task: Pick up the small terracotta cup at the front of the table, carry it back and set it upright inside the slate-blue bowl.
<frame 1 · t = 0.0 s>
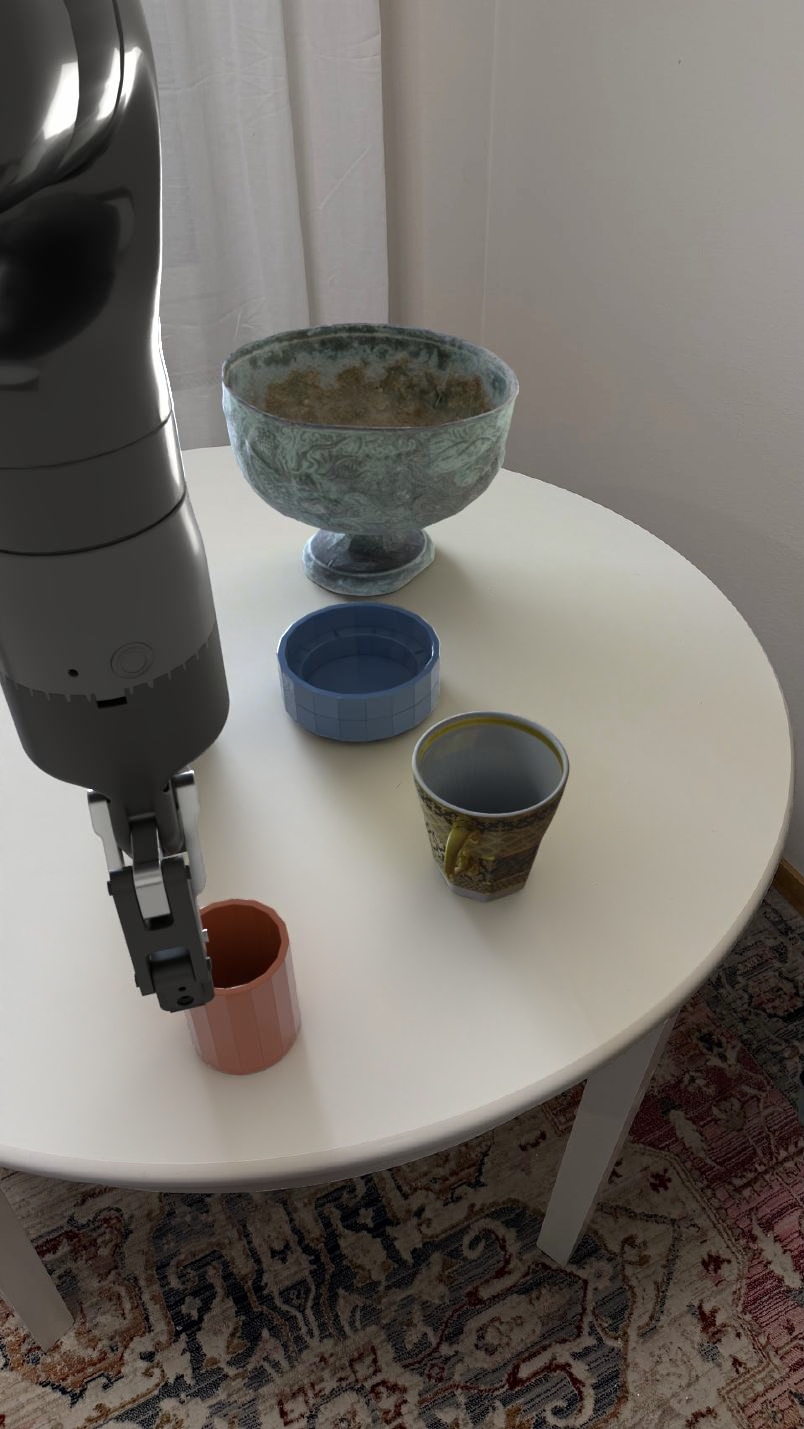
hand: (178, 920, 44), 18 cm above the table, tool pointing down, fingers open, 8 cm apart
decorative bowl: (371, 560, 102), on the table
cup: (246, 1025, 61), on the table
beverage can: (170, 730, 82), on the table
ceramic cup: (477, 882, 69), on the table
bowl: (361, 694, 85), on the table
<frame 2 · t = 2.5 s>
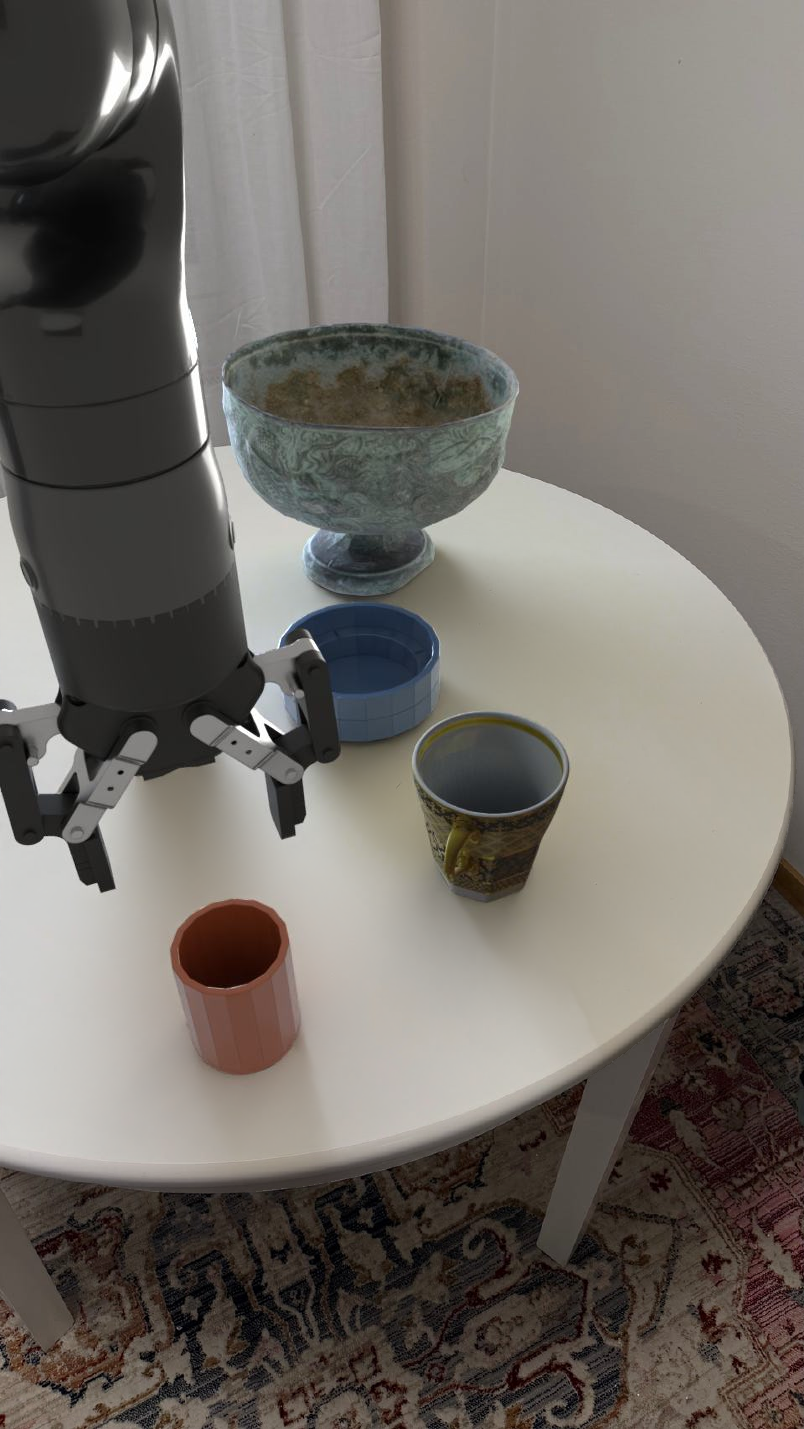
hand: (196, 851, 48), 18 cm above the table, tool pointing down, fingers open, 8 cm apart
nothing on the table moved.
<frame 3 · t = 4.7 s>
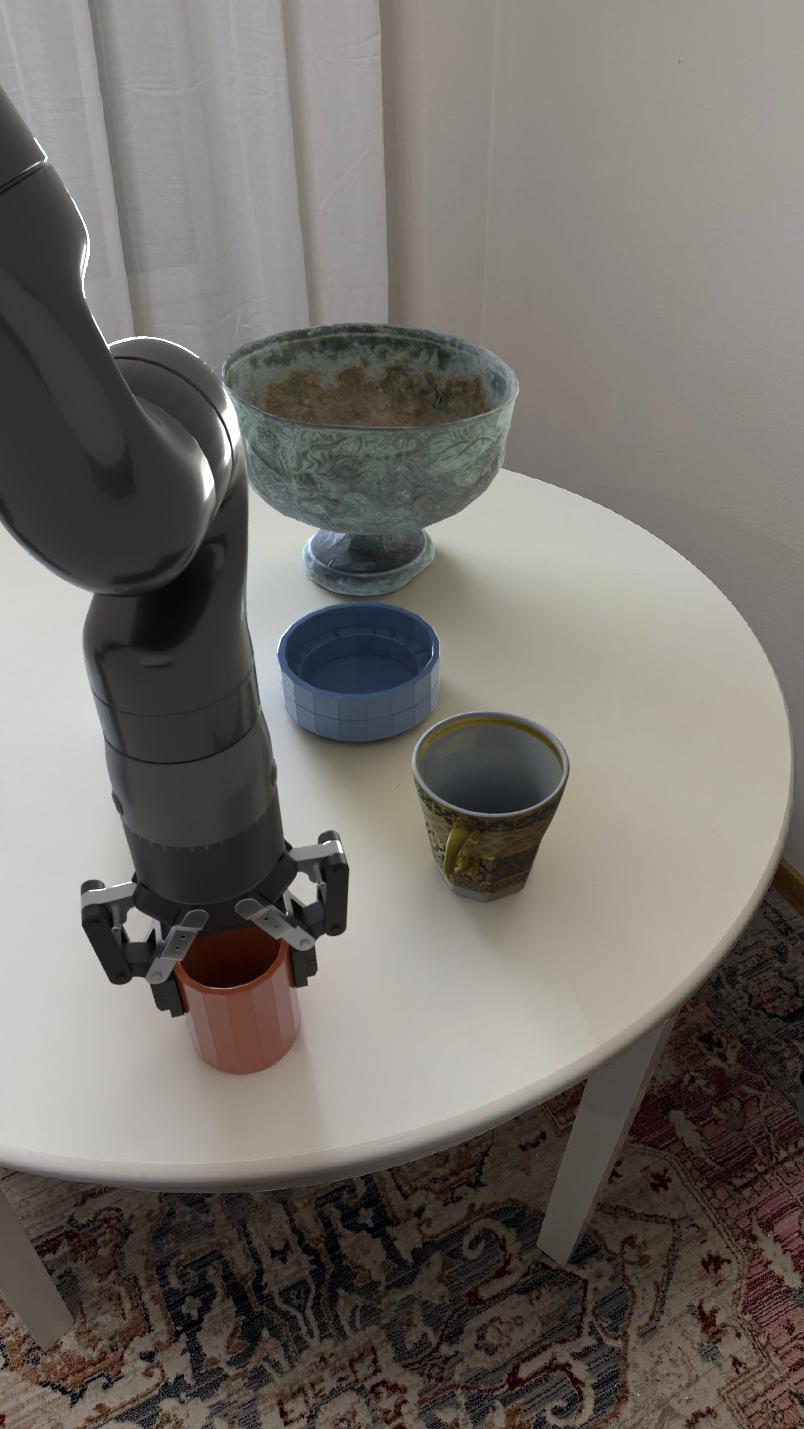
hand: (238, 988, 58), 4 cm above the table, tool pointing down, fingers closed on cup, 6 cm apart
cup: (246, 1025, 61), on the table, touching gripper
everything else where it was.
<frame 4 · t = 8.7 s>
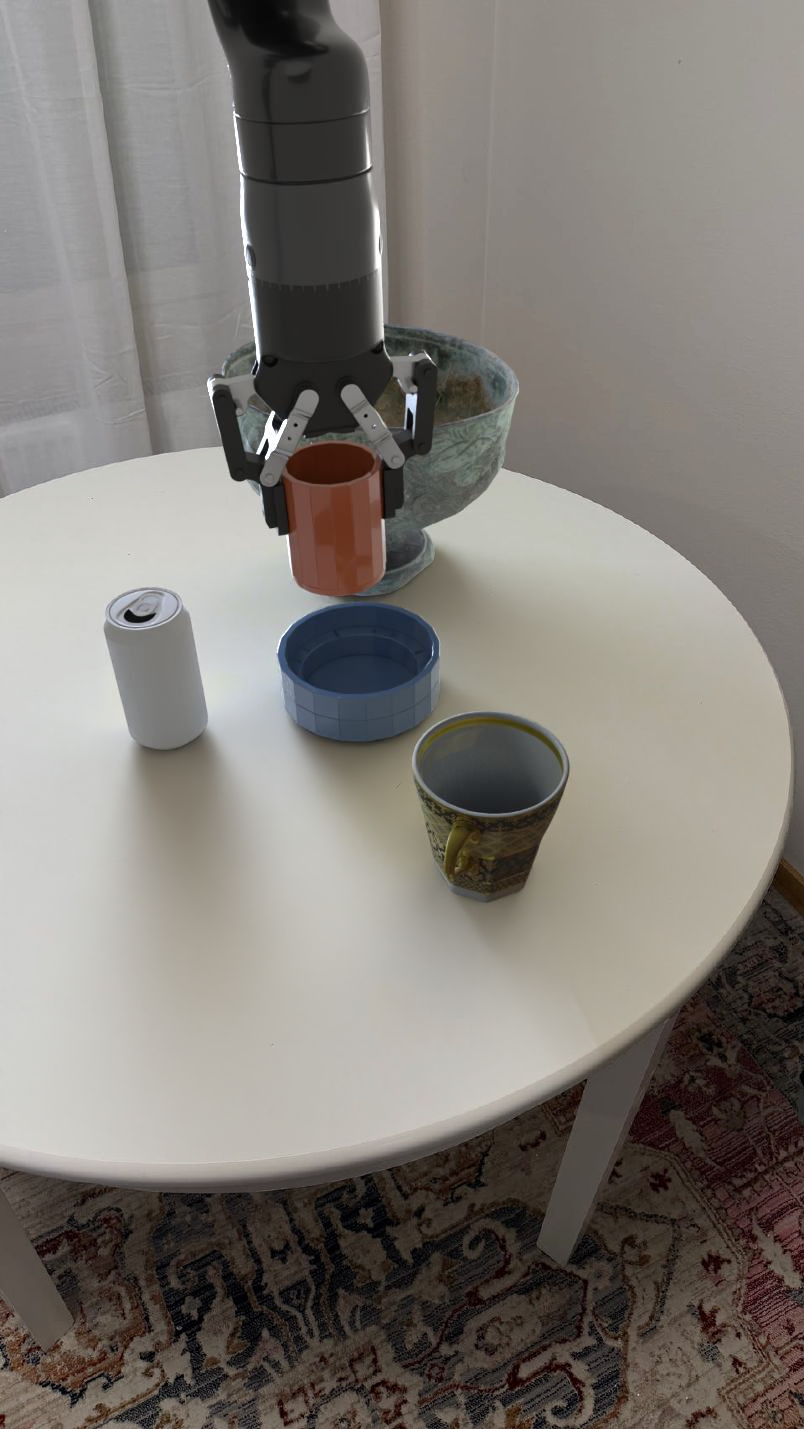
hand: (334, 521, 67), 20 cm above the table, tool pointing down, fingers closed on cup, 6 cm apart
cup: (338, 569, 69), point 17 cm above the table, touching gripper
everything else where it was.
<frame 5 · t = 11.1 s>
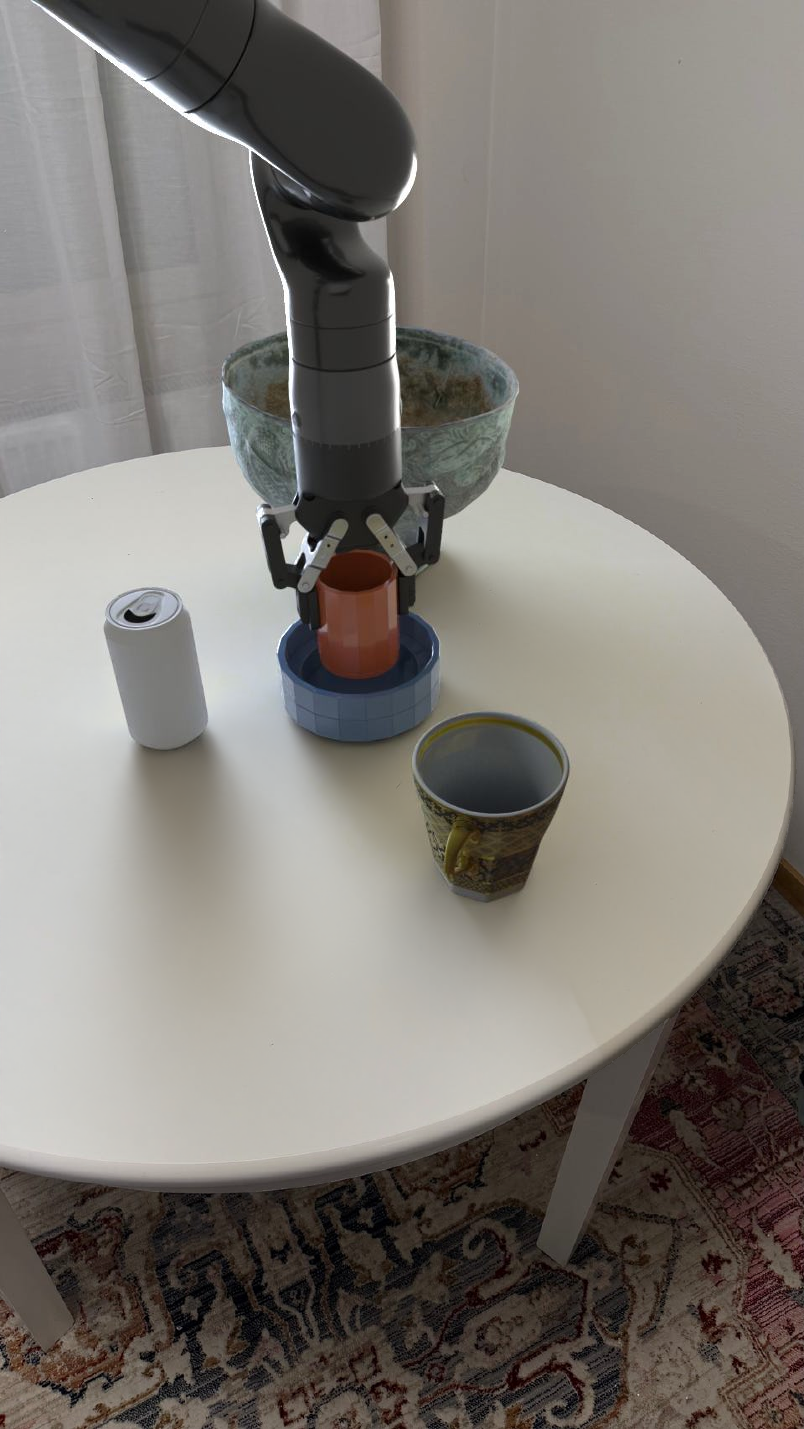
hand: (357, 616, 80), 8 cm above the table, tool pointing down, fingers closed on cup, 6 cm apart
cup: (359, 654, 82), point 4 cm above the table, touching gripper
everything else where it was.
when the fingers open (4 cm above the table, at t = 12.8 s): cup stays where it is, resting on bowl.
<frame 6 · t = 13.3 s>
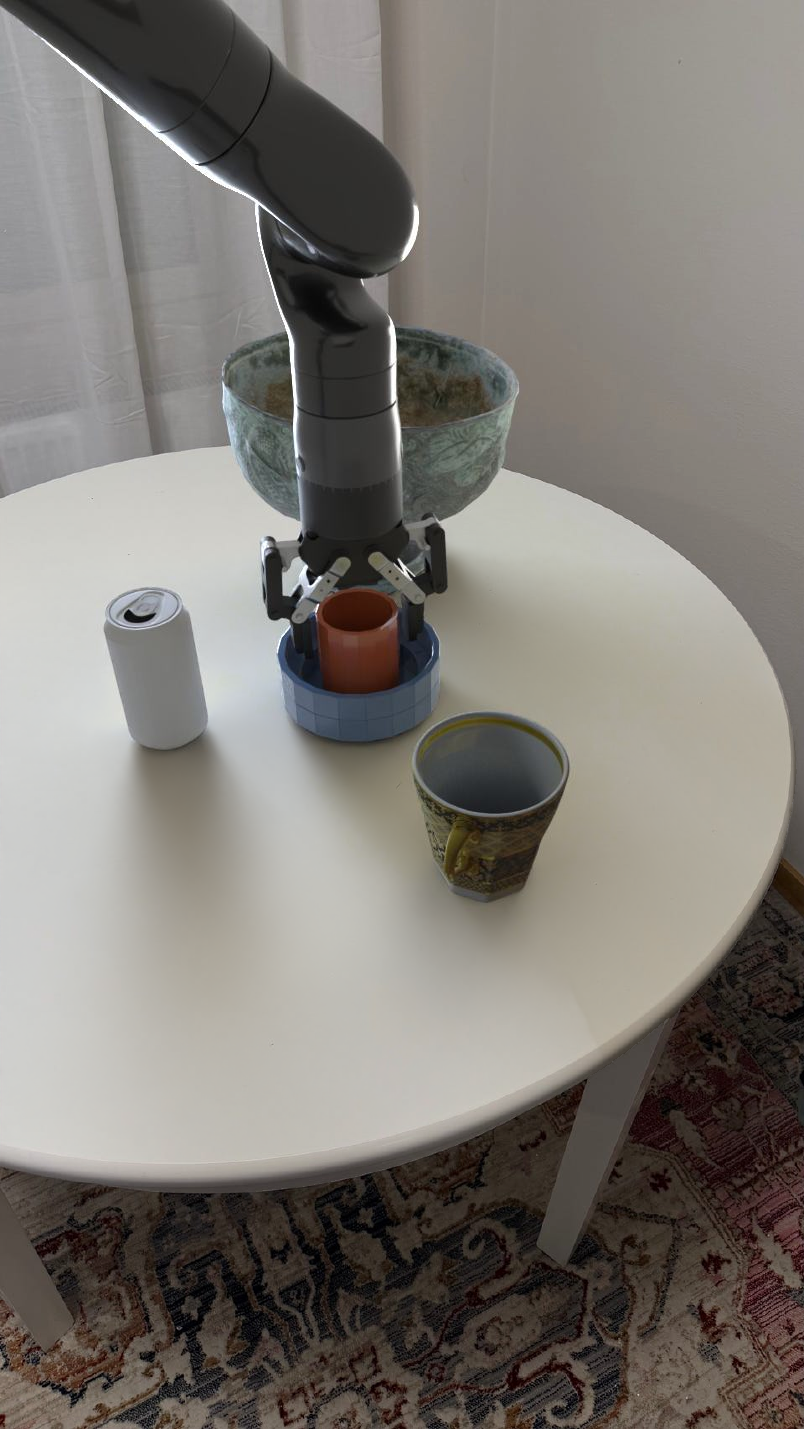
hand: (358, 644, 82), 5 cm above the table, tool pointing down, fingers open, 8 cm apart
cup: (361, 689, 85), point 1 cm above the table, touching bowl
everything else where it was.
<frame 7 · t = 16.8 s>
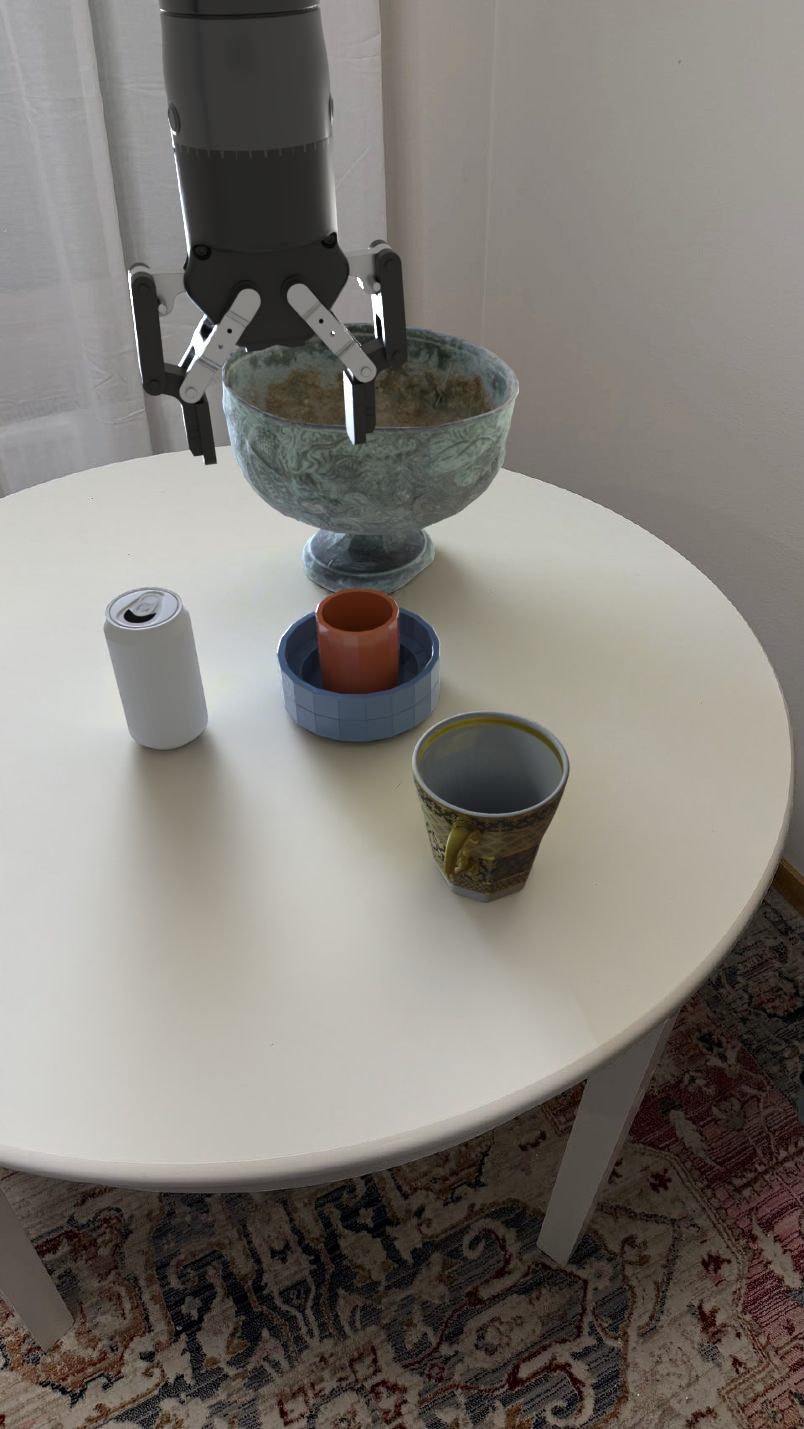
hand: (283, 449, 58), 28 cm above the table, tool pointing down, fingers open, 8 cm apart
nothing on the table moved.
at the end: cup 0.1 cm off-centre in the bowl, point 0.6 cm above the bowl's base; cup tilted 0°; the gripper is holding nothing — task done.
